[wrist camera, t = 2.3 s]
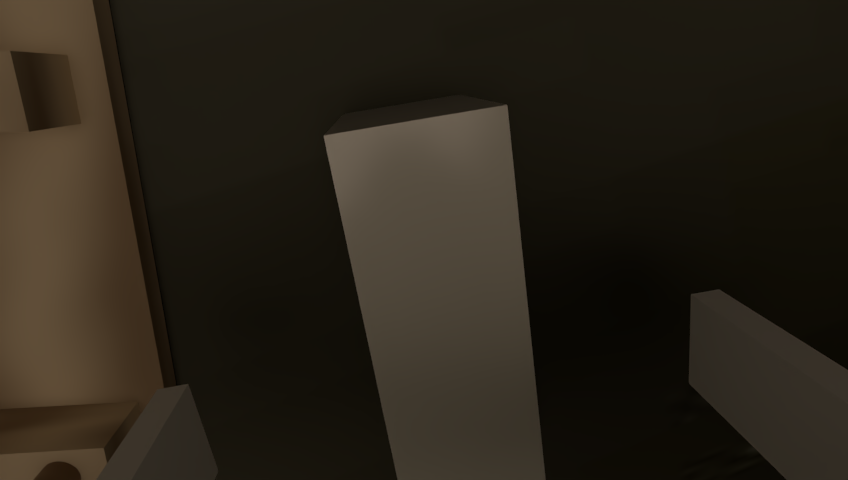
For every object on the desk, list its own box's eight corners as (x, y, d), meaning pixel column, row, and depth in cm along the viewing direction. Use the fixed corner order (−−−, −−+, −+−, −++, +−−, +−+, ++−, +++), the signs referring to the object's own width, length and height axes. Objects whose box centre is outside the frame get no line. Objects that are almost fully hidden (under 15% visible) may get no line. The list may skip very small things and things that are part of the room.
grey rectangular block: (458, 94, 18) (507, 104, 11) (502, 428, 22) (555, 579, 15) (344, 113, 18) (323, 135, 11) (410, 445, 22) (424, 605, 15)
